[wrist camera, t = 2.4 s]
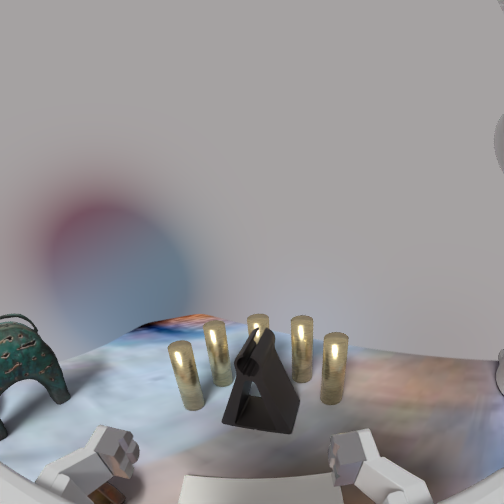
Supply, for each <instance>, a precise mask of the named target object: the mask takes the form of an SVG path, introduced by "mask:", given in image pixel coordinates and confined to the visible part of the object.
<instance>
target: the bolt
mask: <svg viewBox="0 0 504 504" xmlns="http://www.w3.org/2000/svg"><path fill="white" fill-rule="evenodd" d="M87 497H88V498H90V499H91V500H92V501H93V503H94V504H122V503H123V502H124V501H125V499H126V498H125V497H124V495H123V494H122V493H120V492H119V491H118V490H117V489H116V488H115V487H114V486H112V485H111V484H110V483H108V482H107V481H106V482H105V483H104V484H102V485H101V486H100V487H98V488H97V489H96V490H94V491H93V492H92V493H90V494H89V495H87Z"/></svg>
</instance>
